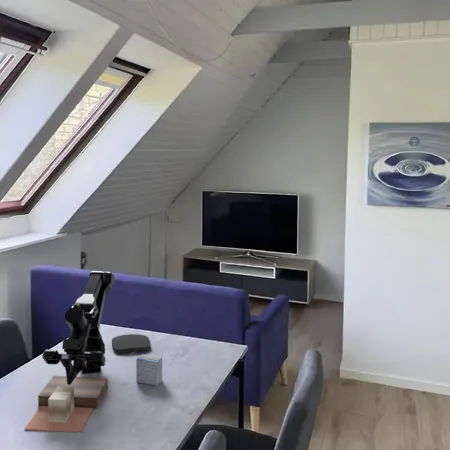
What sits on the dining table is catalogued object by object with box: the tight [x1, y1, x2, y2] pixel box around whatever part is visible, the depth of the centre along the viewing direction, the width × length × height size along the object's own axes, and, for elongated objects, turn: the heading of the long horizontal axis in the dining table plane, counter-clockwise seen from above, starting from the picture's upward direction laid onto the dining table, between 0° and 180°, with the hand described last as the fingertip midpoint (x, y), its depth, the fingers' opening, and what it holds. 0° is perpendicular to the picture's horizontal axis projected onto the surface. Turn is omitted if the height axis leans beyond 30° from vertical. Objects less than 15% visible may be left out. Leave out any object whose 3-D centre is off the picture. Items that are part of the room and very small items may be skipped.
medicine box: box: [135, 353, 163, 387], centre depth 179 cm, size 8×4×9 cm, turn 71°
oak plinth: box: [37, 375, 109, 410], centre depth 168 cm, size 14×18×4 cm
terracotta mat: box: [24, 406, 94, 433], centre depth 154 cm, size 13×16×1 cm
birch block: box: [48, 387, 74, 423], centre depth 155 cm, size 7×5×8 cm
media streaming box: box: [111, 333, 152, 355], centre depth 210 cm, size 15×15×3 cm
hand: (68, 384), depth 161 cm, fingers closed
